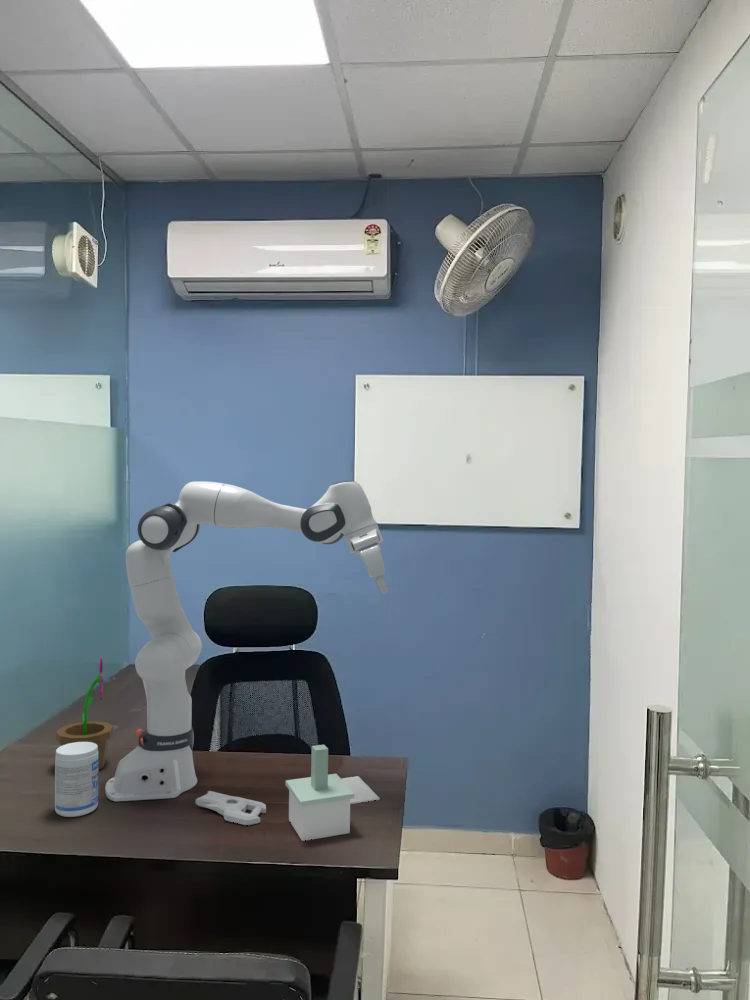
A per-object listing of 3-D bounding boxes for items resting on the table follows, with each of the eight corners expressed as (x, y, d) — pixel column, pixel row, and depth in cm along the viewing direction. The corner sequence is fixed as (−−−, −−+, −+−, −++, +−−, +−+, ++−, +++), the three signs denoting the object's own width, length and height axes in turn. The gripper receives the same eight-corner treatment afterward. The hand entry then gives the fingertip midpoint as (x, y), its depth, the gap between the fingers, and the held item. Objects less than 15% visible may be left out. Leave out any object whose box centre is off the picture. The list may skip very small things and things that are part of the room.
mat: (321, 808, 176) (321, 807, 176) (304, 785, 190) (304, 783, 190) (379, 799, 182) (379, 798, 182) (358, 777, 196) (358, 776, 196)
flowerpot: (113, 772, 196) (115, 660, 196) (55, 780, 191) (56, 665, 191) (111, 754, 210) (112, 649, 209) (56, 761, 204) (57, 653, 204)
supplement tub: (102, 812, 172) (103, 750, 172) (59, 822, 167) (59, 757, 167) (92, 798, 180) (93, 738, 180) (51, 806, 175) (51, 745, 175)
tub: (302, 841, 160) (302, 804, 160) (288, 819, 170) (289, 785, 170) (349, 833, 164) (350, 797, 164) (333, 812, 174) (334, 779, 174)
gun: (186, 800, 172) (210, 784, 181) (185, 814, 172) (209, 798, 181) (255, 817, 166) (276, 800, 175) (254, 832, 166) (275, 814, 175)
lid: (300, 809, 159) (301, 760, 159) (285, 788, 170) (286, 741, 170) (354, 801, 163) (355, 753, 163) (336, 781, 175) (336, 735, 175)
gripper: (353, 547, 194) (372, 596, 193) (352, 543, 174) (373, 599, 172) (375, 539, 194) (394, 588, 193) (377, 534, 174) (398, 589, 173)
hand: (384, 593), depth 182 cm, fingers open, 8 cm apart
